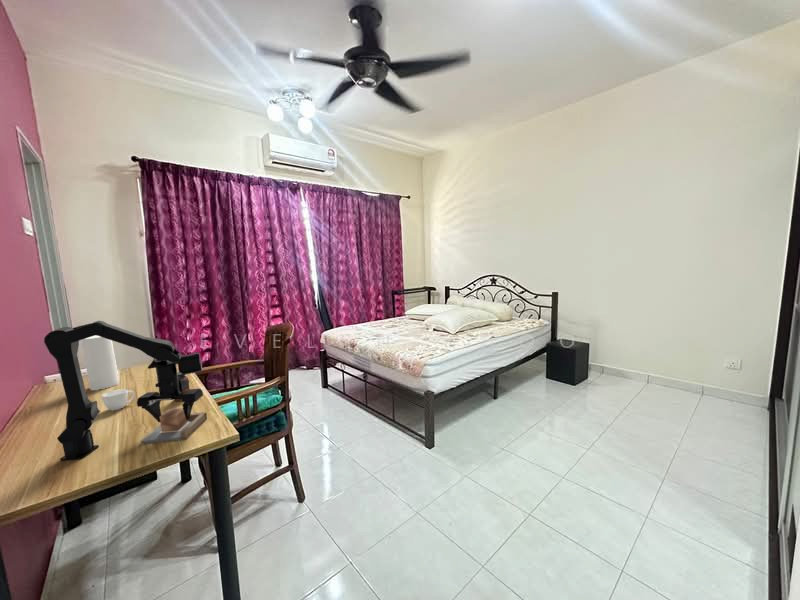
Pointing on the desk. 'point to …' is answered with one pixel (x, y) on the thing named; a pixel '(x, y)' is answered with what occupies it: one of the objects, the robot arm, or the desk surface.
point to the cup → (117, 399)
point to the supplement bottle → (182, 380)
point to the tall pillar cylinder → (100, 362)
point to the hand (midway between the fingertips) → (174, 420)
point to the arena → (181, 434)
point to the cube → (173, 420)
